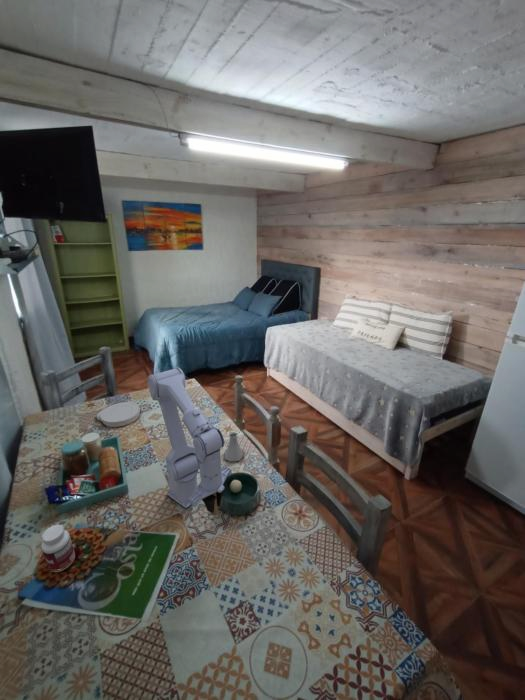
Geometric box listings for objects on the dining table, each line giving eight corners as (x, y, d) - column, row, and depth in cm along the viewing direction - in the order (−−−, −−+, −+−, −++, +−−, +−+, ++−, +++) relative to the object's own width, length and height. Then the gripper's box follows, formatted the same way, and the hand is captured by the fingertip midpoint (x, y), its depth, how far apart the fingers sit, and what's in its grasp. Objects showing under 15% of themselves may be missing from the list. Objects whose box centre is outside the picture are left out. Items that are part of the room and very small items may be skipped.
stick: (209, 513, 90) (207, 492, 87) (214, 508, 92) (212, 487, 89) (214, 516, 89) (212, 495, 86) (219, 511, 90) (217, 490, 88)
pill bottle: (45, 563, 84) (34, 533, 80) (70, 546, 89) (61, 517, 85) (53, 578, 81) (43, 548, 76) (79, 560, 85) (70, 531, 81)
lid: (109, 405, 158) (108, 400, 157) (147, 408, 156) (146, 403, 155) (87, 425, 142) (86, 419, 141) (128, 429, 140) (127, 423, 139)
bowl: (210, 502, 103) (209, 490, 101) (236, 478, 113) (236, 466, 111) (242, 523, 96) (241, 510, 94) (266, 495, 106) (266, 483, 104)
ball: (230, 492, 107) (225, 485, 105) (237, 482, 109) (233, 475, 107) (238, 497, 105) (233, 490, 103) (245, 487, 107) (241, 480, 105)
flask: (240, 463, 120) (239, 441, 116) (222, 460, 121) (221, 439, 118) (245, 451, 127) (244, 430, 123) (227, 448, 128) (226, 428, 124)
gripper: (201, 493, 77) (205, 533, 82) (239, 460, 88) (240, 497, 93) (182, 481, 81) (186, 520, 86) (220, 450, 92) (222, 486, 97)
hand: (213, 507), depth 90 cm, fingers closed on stick, 2 cm apart
